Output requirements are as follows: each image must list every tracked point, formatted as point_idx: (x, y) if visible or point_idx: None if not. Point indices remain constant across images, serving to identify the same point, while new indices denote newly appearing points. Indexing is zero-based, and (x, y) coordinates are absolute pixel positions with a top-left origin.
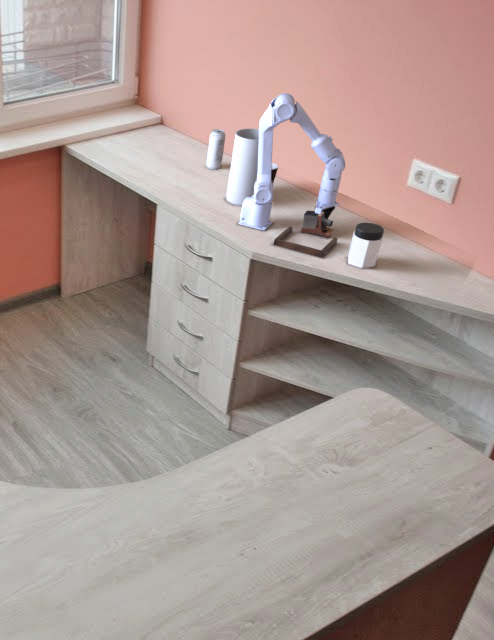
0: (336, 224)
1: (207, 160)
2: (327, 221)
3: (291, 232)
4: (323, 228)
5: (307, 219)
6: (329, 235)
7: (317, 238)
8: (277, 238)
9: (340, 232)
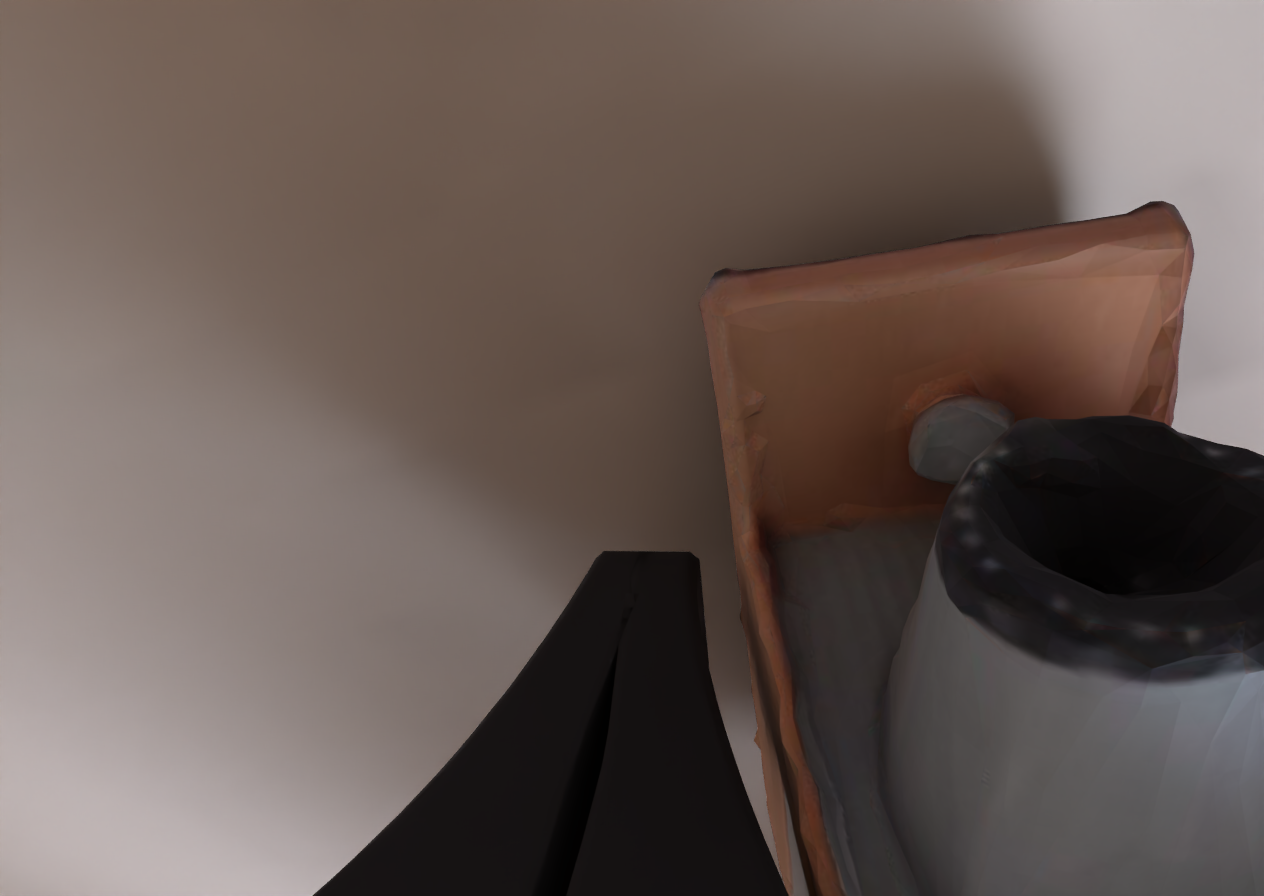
0: (55, 370)
1: None
2: (1254, 768)
3: None
4: (867, 540)
5: None
6: (1172, 210)
7: (1236, 428)
8: None
9: (381, 78)
